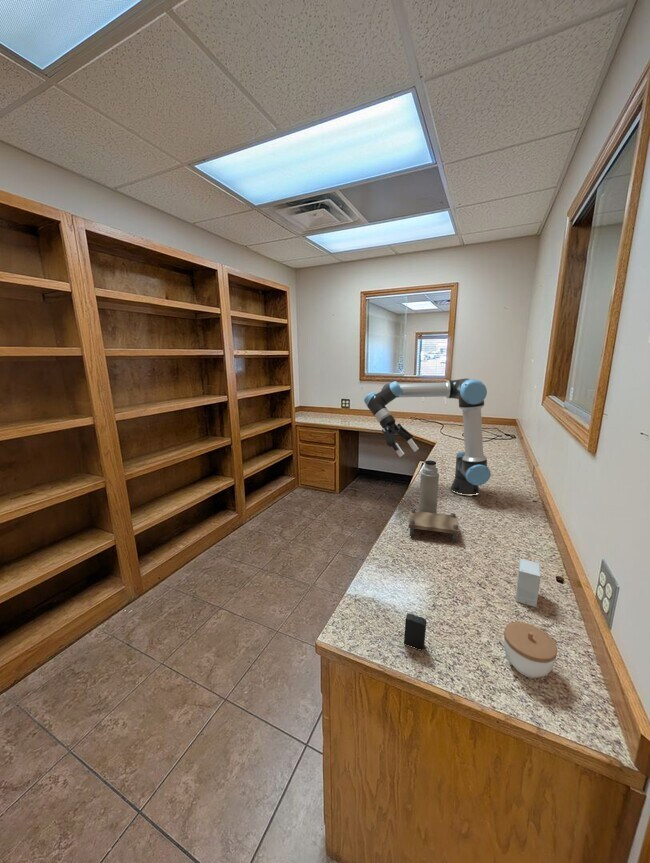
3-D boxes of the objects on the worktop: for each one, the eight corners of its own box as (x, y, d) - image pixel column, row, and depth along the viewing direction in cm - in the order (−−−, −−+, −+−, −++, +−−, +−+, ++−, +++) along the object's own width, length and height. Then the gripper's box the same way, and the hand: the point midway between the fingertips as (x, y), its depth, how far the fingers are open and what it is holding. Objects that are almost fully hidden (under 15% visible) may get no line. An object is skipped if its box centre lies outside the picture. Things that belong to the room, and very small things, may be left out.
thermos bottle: (423, 512, 161) (426, 458, 155) (438, 517, 155) (442, 461, 150) (415, 518, 155) (418, 461, 150) (431, 523, 150) (435, 465, 144)
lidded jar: (504, 678, 76) (508, 644, 74) (498, 642, 85) (501, 611, 84) (559, 694, 72) (565, 658, 70) (546, 655, 82) (551, 622, 80)
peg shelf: (455, 528, 145) (456, 513, 144) (458, 544, 132) (460, 528, 131) (409, 522, 151) (410, 507, 149) (408, 537, 138) (408, 521, 136)
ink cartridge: (424, 644, 85) (426, 618, 83) (423, 651, 83) (425, 624, 81) (405, 638, 87) (407, 612, 85) (403, 644, 85) (405, 618, 83)
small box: (536, 608, 97) (540, 576, 95) (515, 601, 100) (518, 570, 98) (536, 592, 104) (540, 563, 102) (516, 586, 107) (519, 557, 105)
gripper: (394, 420, 178) (417, 452, 170) (365, 426, 160) (390, 462, 153) (403, 411, 173) (427, 444, 166) (375, 417, 156) (400, 453, 148)
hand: (409, 452), depth 159 cm, fingers open, 13 cm apart
